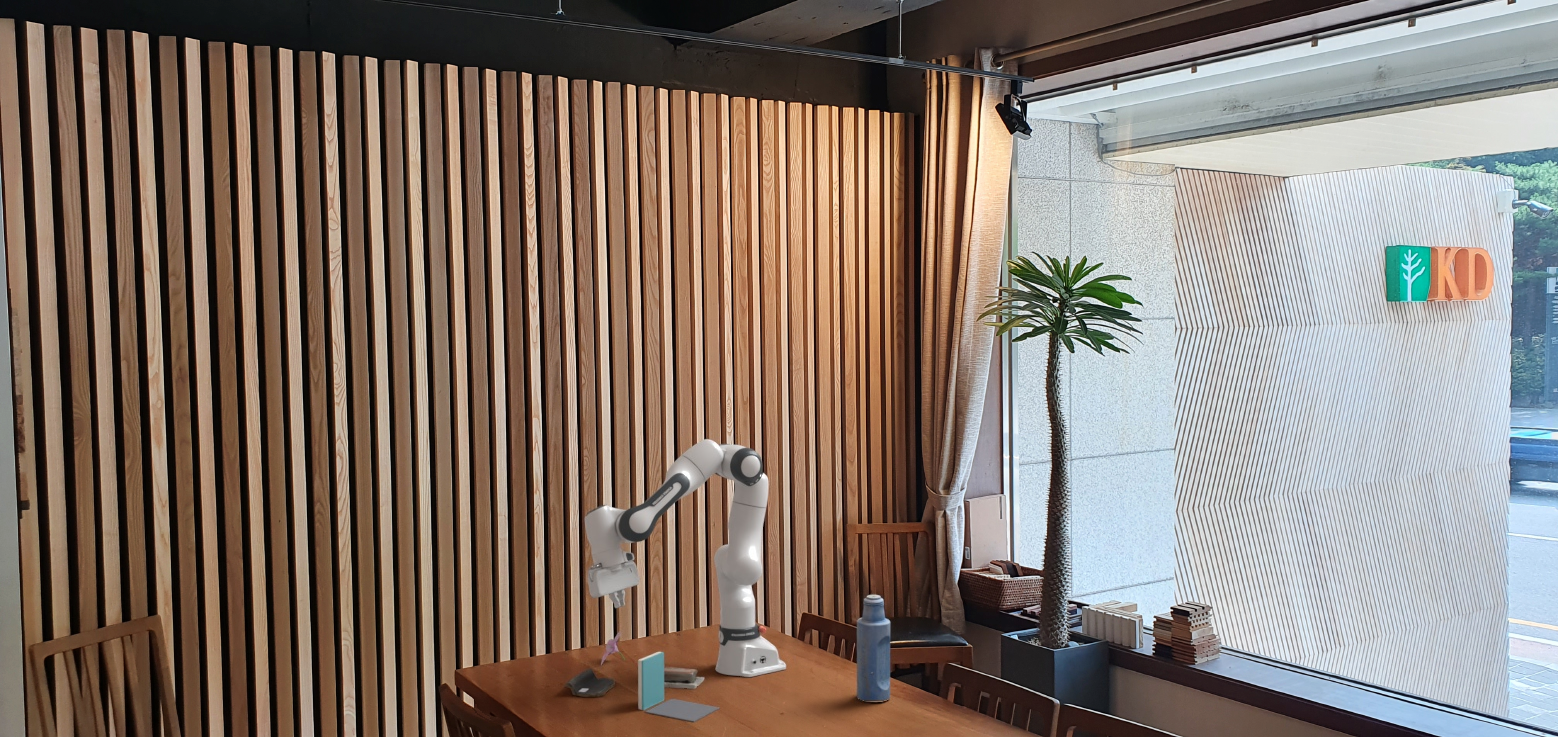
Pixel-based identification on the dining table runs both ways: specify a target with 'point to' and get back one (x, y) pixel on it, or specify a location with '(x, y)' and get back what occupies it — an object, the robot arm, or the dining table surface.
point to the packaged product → (681, 678)
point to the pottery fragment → (589, 684)
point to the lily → (611, 647)
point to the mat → (682, 710)
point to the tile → (650, 680)
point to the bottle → (873, 651)
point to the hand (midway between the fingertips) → (620, 606)
